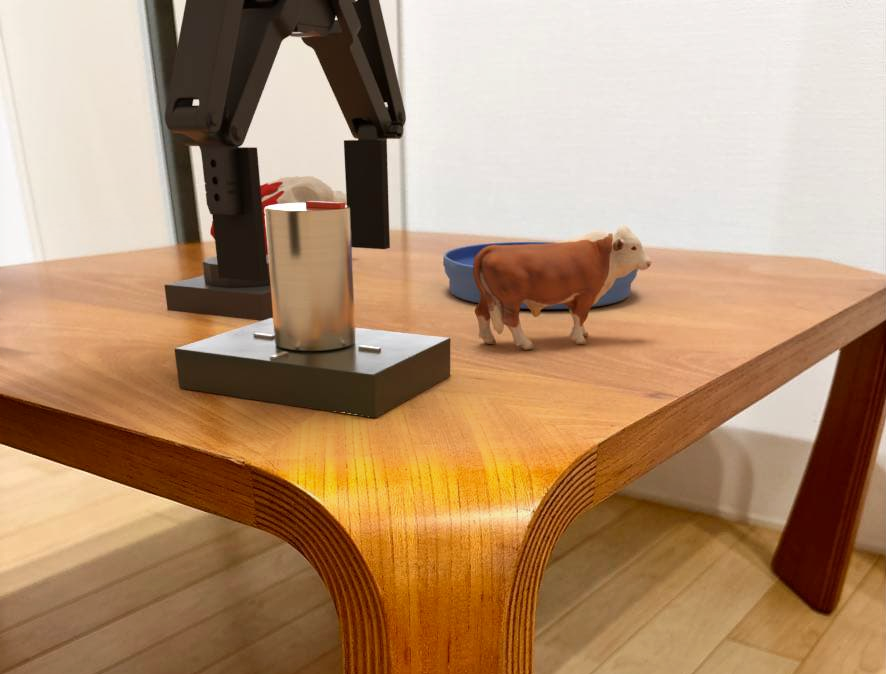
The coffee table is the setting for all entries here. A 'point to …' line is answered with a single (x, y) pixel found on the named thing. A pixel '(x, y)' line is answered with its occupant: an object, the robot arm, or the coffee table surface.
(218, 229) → the robot arm
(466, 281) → the bowl
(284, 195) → the red cream irregular piece
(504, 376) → the coffee table surface
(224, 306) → the button box
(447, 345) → the dial panel
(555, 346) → the coffee table surface
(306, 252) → the knob
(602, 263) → the bull figurine
